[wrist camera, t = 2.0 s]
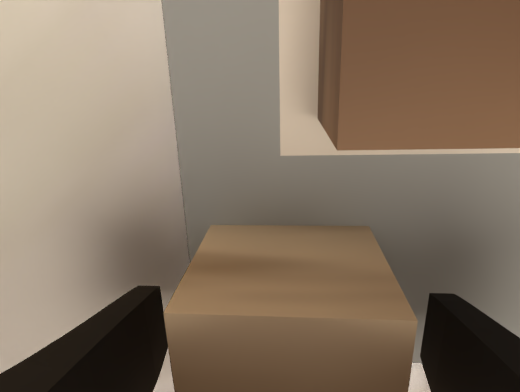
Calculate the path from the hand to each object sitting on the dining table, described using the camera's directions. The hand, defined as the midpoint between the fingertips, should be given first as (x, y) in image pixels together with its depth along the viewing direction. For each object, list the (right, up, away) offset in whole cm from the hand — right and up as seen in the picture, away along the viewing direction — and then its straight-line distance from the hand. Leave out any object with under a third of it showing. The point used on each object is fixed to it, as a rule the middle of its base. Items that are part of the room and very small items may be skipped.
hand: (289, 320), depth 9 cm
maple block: (0, 0, +1) cm, 1 cm away
